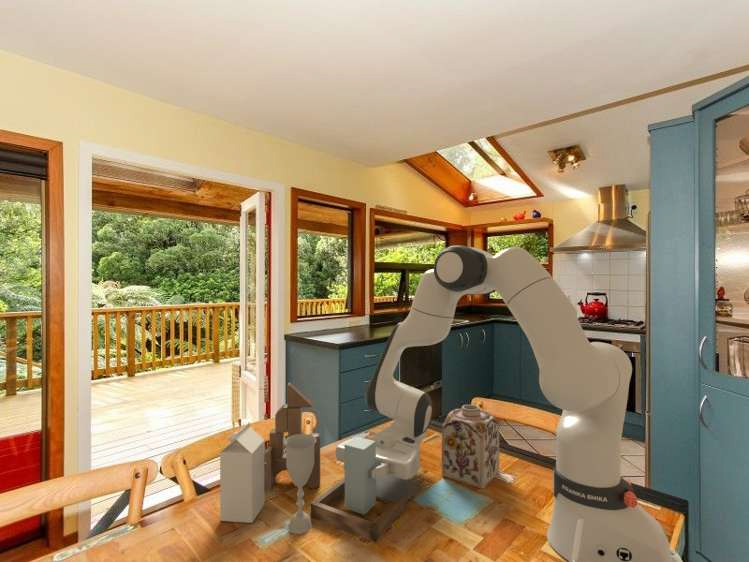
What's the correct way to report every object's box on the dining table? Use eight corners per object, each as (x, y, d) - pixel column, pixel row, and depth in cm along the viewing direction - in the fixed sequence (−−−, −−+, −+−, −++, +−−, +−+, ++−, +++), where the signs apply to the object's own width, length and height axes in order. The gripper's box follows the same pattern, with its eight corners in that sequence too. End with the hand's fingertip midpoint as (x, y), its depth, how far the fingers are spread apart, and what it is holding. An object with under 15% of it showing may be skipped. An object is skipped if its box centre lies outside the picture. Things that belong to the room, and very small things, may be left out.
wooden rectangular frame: (404, 509, 90) (404, 496, 90) (375, 542, 78) (375, 527, 78) (344, 489, 98) (344, 477, 98) (310, 517, 87) (310, 503, 87)
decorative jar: (483, 491, 98) (483, 417, 97) (440, 476, 105) (440, 408, 104) (500, 471, 107) (500, 405, 107) (460, 459, 114) (460, 397, 114)
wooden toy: (256, 491, 97) (255, 389, 97) (261, 477, 104) (261, 382, 104) (319, 488, 98) (319, 388, 98) (321, 475, 105) (321, 380, 105)
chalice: (281, 519, 86) (281, 436, 86) (312, 512, 88) (312, 432, 88) (286, 540, 79) (286, 450, 79) (320, 532, 82) (320, 445, 81)
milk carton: (264, 504, 92) (264, 422, 91) (252, 524, 84) (251, 434, 84) (234, 503, 92) (234, 421, 92) (220, 521, 85) (219, 433, 85)
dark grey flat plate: (421, 485, 100) (421, 483, 100) (401, 506, 91) (401, 504, 91) (373, 471, 107) (373, 469, 107) (350, 490, 98) (350, 488, 98)
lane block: (376, 503, 89) (375, 441, 89) (364, 514, 85) (363, 449, 85) (357, 497, 92) (356, 436, 92) (344, 508, 88) (344, 444, 88)
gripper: (353, 427, 105) (320, 447, 93) (425, 443, 94) (398, 467, 82) (353, 451, 105) (320, 473, 93) (425, 470, 94) (399, 498, 83)
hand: (358, 471), depth 88 cm, fingers closed on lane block, 5 cm apart
